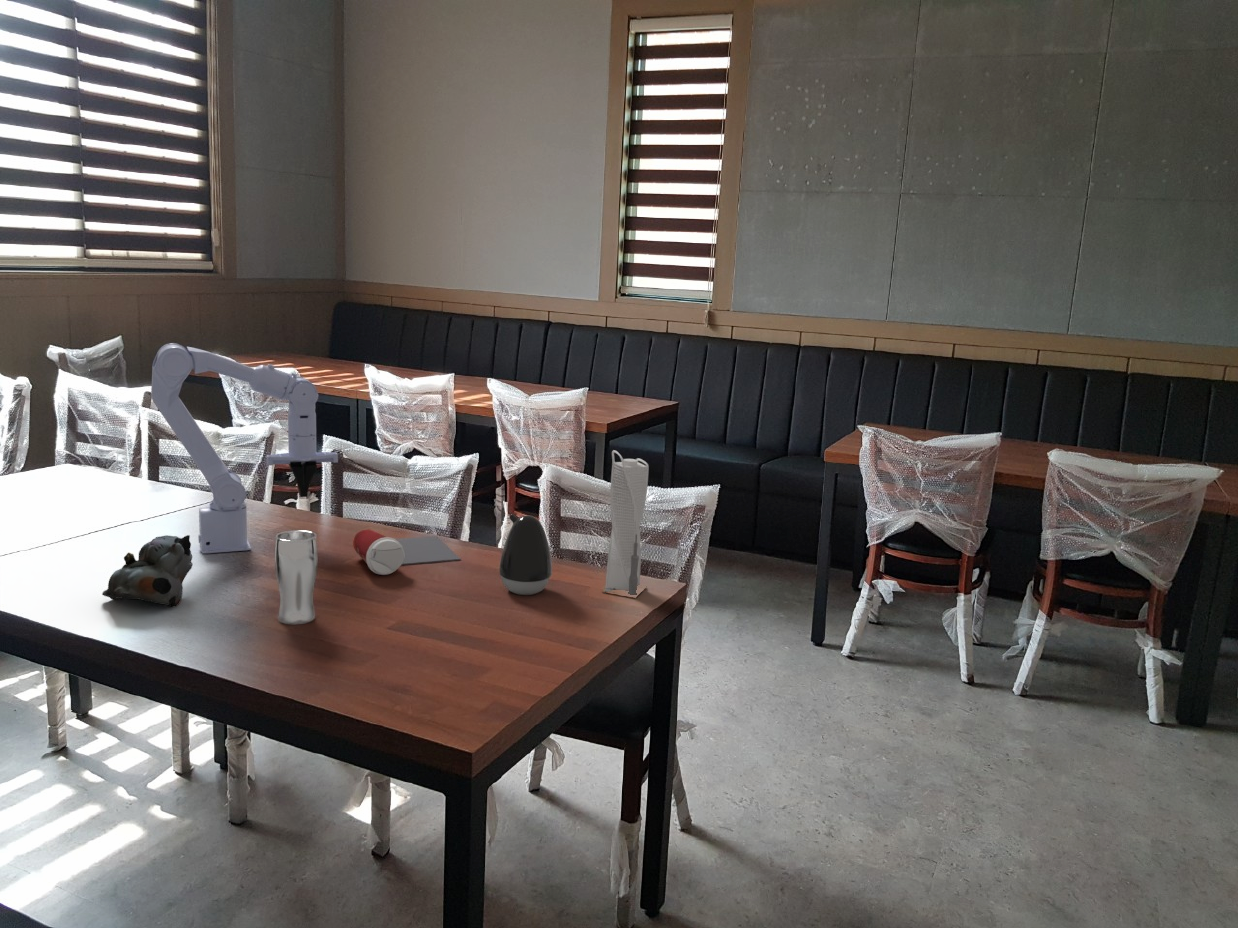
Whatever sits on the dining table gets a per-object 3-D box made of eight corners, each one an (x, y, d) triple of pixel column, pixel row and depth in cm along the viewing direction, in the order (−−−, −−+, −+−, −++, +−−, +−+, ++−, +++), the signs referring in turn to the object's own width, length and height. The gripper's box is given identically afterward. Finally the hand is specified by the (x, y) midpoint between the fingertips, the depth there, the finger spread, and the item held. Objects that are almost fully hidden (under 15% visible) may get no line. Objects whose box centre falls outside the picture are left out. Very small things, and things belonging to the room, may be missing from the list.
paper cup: (342, 555, 196) (363, 572, 185) (353, 520, 197) (374, 534, 185) (378, 563, 201) (400, 579, 189) (388, 528, 201) (411, 543, 189)
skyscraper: (595, 591, 187) (603, 453, 181) (609, 580, 194) (617, 446, 189) (635, 598, 184) (644, 458, 178) (648, 586, 191) (657, 451, 186)
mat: (375, 567, 193) (375, 566, 193) (357, 543, 209) (357, 541, 209) (460, 560, 201) (460, 558, 201) (436, 537, 217) (436, 535, 217)
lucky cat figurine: (96, 595, 168) (125, 521, 172) (166, 613, 174) (192, 541, 178) (108, 597, 156) (139, 517, 160) (183, 616, 162) (211, 539, 166)
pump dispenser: (527, 578, 192) (531, 506, 189) (561, 592, 185) (565, 518, 182) (487, 588, 185) (490, 513, 182) (520, 603, 178) (523, 525, 175)
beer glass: (293, 629, 159) (293, 543, 156) (266, 619, 162) (265, 535, 159) (326, 617, 165) (326, 535, 162) (299, 608, 168) (299, 527, 165)
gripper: (268, 438, 196) (270, 502, 198) (340, 436, 202) (341, 497, 205) (264, 432, 202) (266, 494, 205) (334, 430, 208) (334, 490, 211)
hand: (303, 495), depth 205 cm, fingers closed
